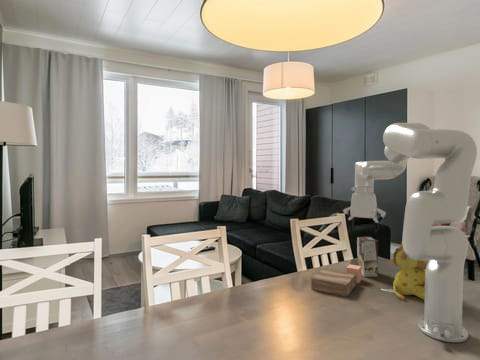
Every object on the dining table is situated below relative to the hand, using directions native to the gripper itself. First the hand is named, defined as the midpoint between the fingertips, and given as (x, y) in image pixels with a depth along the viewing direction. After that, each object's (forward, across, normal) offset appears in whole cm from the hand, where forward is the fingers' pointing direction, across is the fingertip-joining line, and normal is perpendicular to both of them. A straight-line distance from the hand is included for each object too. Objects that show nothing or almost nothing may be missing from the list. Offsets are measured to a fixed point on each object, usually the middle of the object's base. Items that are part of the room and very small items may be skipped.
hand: (363, 230), depth 138 cm
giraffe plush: (+22, +21, -3) cm, 30 cm away
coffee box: (+22, 0, +10) cm, 24 cm away
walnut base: (+22, -8, -14) cm, 27 cm away
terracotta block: (+22, -3, -2) cm, 22 cm away
